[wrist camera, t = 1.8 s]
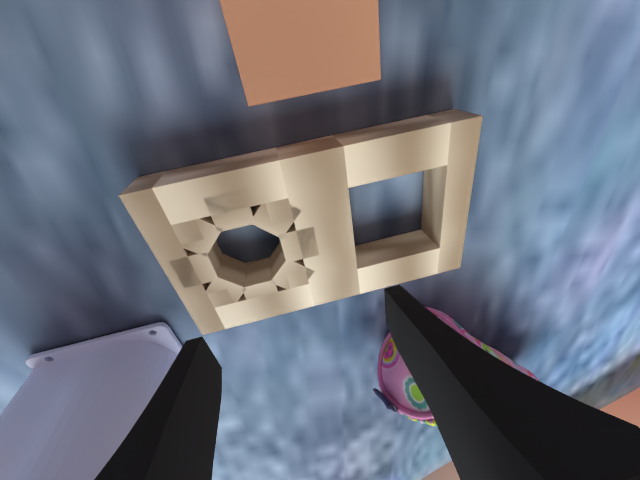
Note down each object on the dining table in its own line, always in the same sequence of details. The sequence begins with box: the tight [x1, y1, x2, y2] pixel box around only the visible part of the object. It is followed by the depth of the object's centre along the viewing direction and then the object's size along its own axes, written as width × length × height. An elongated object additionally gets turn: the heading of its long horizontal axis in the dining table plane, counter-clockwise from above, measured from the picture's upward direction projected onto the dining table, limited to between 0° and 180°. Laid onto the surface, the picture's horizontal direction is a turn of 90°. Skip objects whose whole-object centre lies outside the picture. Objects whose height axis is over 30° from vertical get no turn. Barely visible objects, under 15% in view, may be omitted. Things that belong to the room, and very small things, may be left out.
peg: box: [220, 0, 381, 106], centre depth 10 cm, size 4×4×7 cm
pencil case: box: [373, 307, 539, 427], centre depth 27 cm, size 21×9×9 cm, turn 47°
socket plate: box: [119, 109, 483, 335], centre depth 17 cm, size 18×10×2 cm, turn 99°
